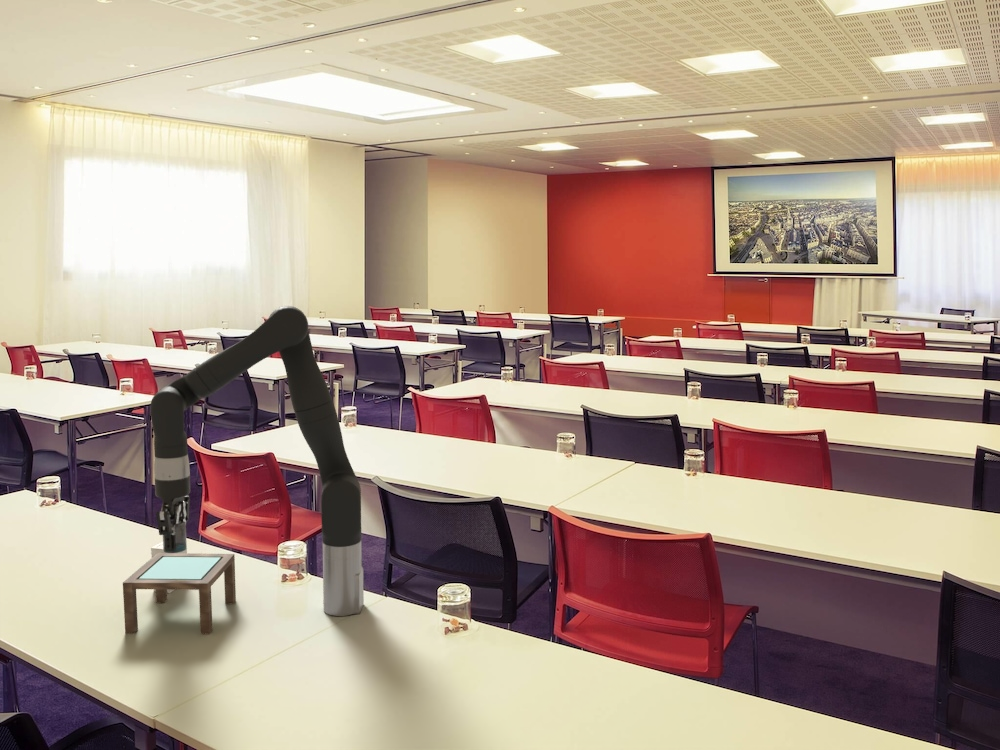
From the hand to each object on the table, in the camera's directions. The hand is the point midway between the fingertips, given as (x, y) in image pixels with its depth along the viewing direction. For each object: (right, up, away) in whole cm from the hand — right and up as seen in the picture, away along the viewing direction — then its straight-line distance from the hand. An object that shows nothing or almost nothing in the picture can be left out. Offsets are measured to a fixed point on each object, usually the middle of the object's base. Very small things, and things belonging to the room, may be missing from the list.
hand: (175, 546), depth 189 cm
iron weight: (0, -1, 0) cm, 1 cm away
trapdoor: (0, -7, +4) cm, 8 cm away
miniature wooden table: (0, -18, +6) cm, 19 cm away
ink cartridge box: (-11, -16, +24) cm, 30 cm away
